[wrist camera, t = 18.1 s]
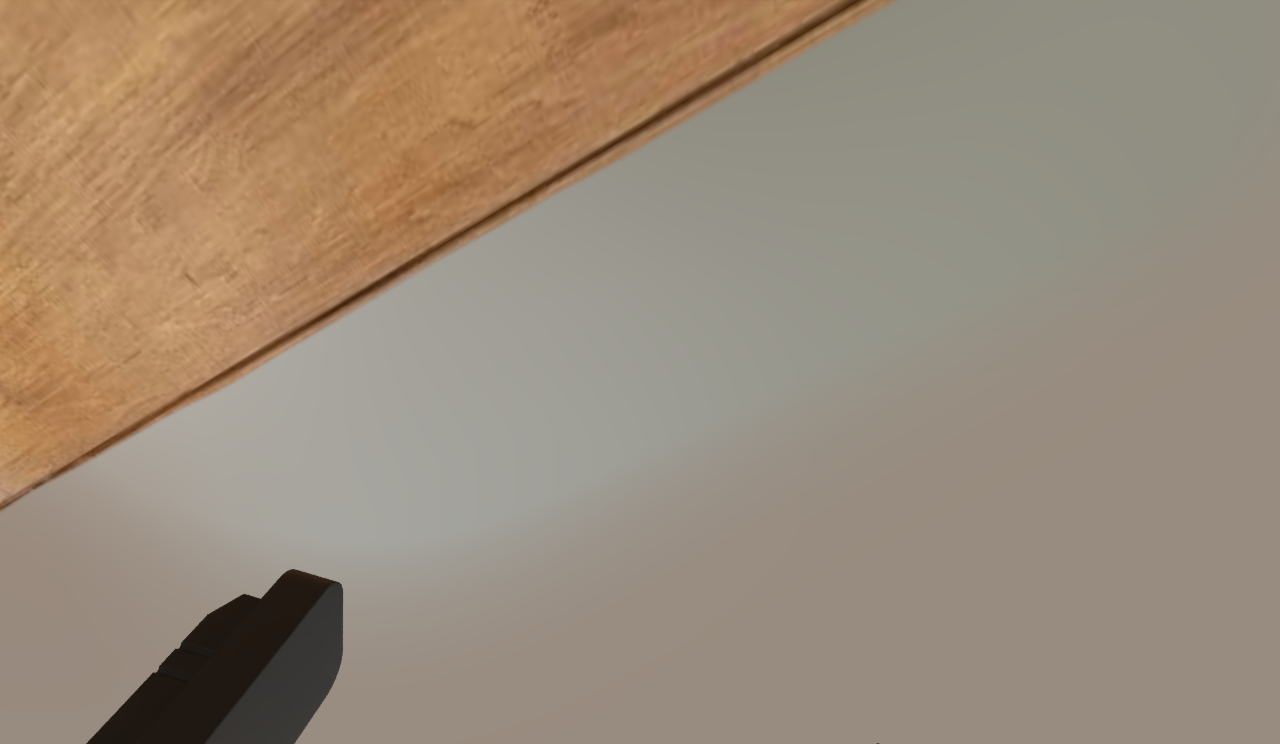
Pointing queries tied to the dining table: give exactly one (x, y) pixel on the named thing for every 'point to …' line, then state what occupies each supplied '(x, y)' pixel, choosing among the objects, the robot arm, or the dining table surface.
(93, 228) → the dining table surface
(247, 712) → the robot arm
